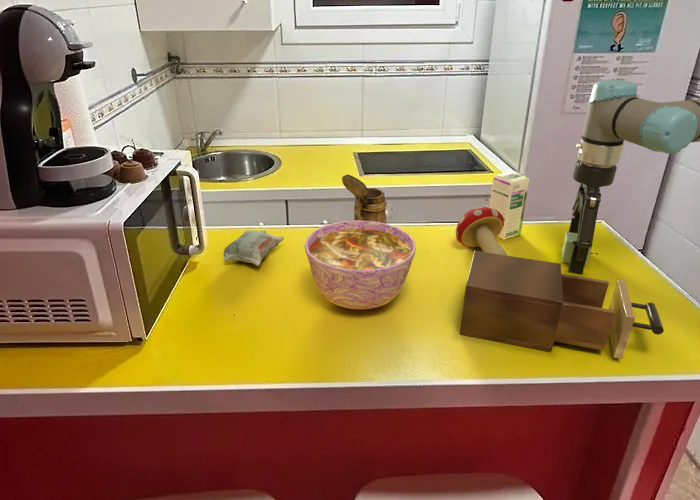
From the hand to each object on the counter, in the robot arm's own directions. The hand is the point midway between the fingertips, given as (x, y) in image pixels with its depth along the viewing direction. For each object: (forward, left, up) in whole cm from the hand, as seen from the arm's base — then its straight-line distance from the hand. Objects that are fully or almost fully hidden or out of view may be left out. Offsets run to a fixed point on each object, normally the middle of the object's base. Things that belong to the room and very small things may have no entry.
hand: (573, 258), depth 113 cm
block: (0, 0, 0) cm, 0 cm away
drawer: (-1, +29, +1) cm, 29 cm away
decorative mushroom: (+19, +5, 0) cm, 20 cm away
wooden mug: (+45, +7, 0) cm, 46 cm away
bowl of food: (+39, +30, 0) cm, 50 cm away
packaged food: (+65, +22, 0) cm, 69 cm away
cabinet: (+12, +29, 0) cm, 32 cm away
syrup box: (+15, -8, 0) cm, 17 cm away
